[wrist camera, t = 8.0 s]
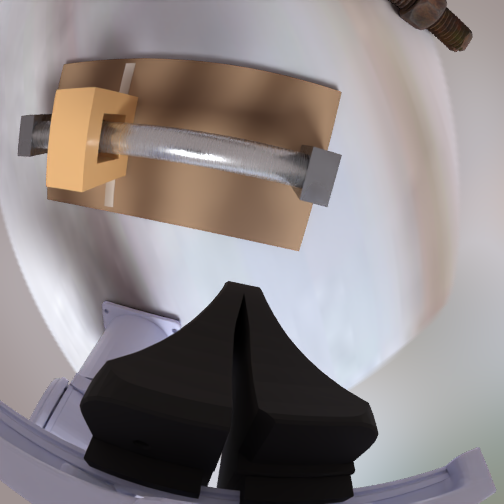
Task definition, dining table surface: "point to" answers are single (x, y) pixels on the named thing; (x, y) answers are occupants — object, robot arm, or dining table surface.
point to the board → (212, 121)
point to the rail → (204, 153)
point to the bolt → (436, 21)
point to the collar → (85, 137)
